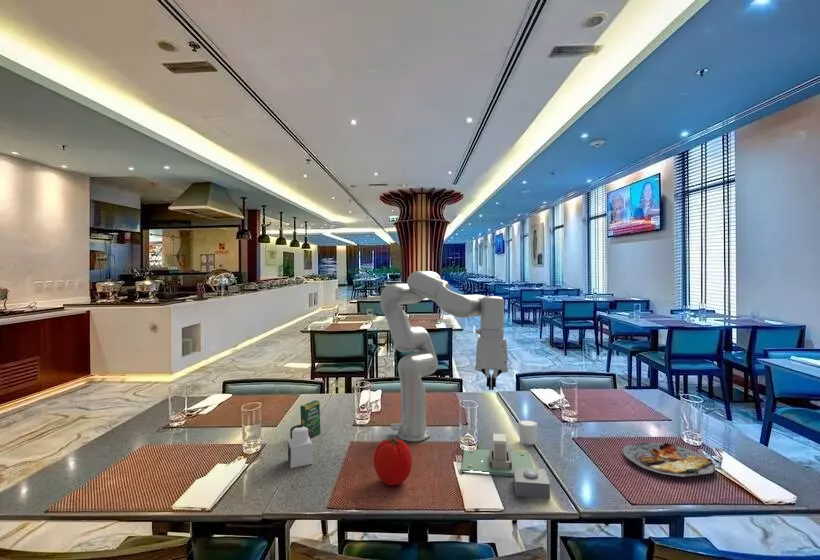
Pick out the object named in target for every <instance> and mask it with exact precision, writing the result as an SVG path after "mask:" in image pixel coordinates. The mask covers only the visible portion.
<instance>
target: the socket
mask: <svg viewBox="0 0 820 560" xmlns="http://www.w3.org/2000/svg"><path fill="white" fill-rule="evenodd" d="M488 450H489V460H490V468H503V469H512V460H511V454H510V451H511V450H507V458H508V461H495V460H492V457H494V452H493V449H488Z"/></svg>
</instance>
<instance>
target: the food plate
mask: <svg viewBox="0 0 820 560" xmlns="http://www.w3.org/2000/svg"><path fill="white" fill-rule="evenodd" d="M622 452H623V455H624V457H626V458H627V459H628V460H629V461H631V462H632V463H634V464H636V465H637V466H638V467H641V468H643V469H645V470H648V471H653V472H655V473H657V474H660V475H662V476H663V475H670V476H675V477H681V478H682V477H683V478H685V477H691V476H694V477H696V476H702V475H710V474H712V473H715V472H716V467H715V466H716V465H715V463H714V460H713V459H711V458H709V457H707V456H705V455H703V454H701V453H700V452H697V451H695V450H692V449H689V448H686V447H683V446H680V445H679V446H678V445H674V443H669V442H665V443H661V442H659V443H658V442H657V443H656V442H643V443H634V444H628V445H626V446H624V447H623V449H622ZM639 457H640V458H639ZM639 460H640V461H639ZM648 466H649V467H648Z"/></svg>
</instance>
